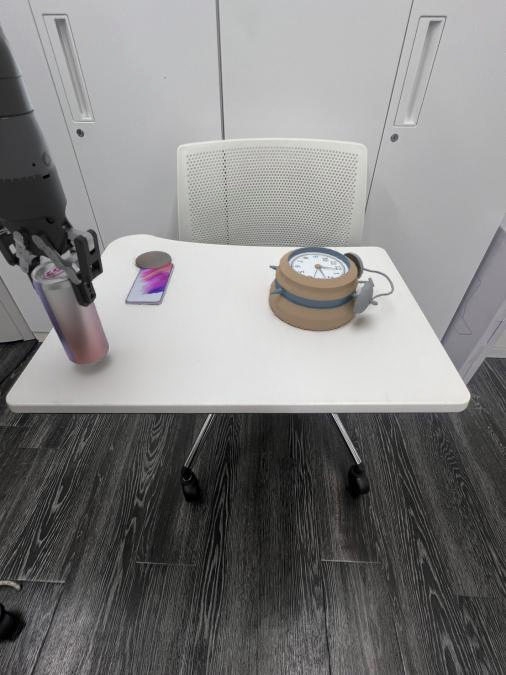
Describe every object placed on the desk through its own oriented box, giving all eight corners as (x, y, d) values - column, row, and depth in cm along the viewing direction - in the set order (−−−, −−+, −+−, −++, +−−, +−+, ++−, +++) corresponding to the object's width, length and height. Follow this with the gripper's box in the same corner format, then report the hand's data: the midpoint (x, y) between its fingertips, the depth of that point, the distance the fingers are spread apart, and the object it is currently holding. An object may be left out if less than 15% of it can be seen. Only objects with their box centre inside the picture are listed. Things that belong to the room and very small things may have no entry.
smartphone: (123, 302, 66) (142, 262, 77) (124, 306, 66) (143, 266, 77) (160, 302, 66) (174, 262, 77) (161, 306, 66) (175, 266, 77)
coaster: (128, 266, 76) (128, 264, 75) (147, 250, 81) (146, 248, 81) (160, 273, 74) (160, 271, 74) (177, 256, 80) (177, 254, 80)
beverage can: (60, 362, 51) (17, 277, 41) (85, 337, 56) (51, 254, 46) (95, 371, 50) (60, 286, 40) (117, 344, 55) (90, 262, 45)
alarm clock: (270, 238, 68) (386, 242, 68) (267, 277, 74) (373, 281, 74) (272, 286, 55) (414, 291, 55) (268, 329, 61) (396, 333, 61)
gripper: (-78, 165, 33) (1, 303, 45) (45, 185, 31) (96, 326, 42) (-13, 147, 39) (43, 274, 50) (97, 162, 36) (130, 293, 47)
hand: (67, 297), depth 46 cm, fingers closed on beverage can, 6 cm apart
